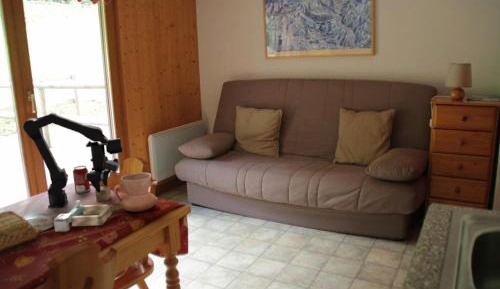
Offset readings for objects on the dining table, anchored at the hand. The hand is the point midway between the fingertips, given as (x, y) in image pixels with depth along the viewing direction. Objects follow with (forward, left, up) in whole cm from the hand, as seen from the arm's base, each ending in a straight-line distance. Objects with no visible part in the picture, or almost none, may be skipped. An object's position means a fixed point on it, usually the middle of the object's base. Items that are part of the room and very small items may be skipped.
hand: (102, 189), depth 190 cm
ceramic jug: (+19, -14, -5) cm, 24 cm away
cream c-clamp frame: (+3, -24, -5) cm, 25 cm away
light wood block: (0, 0, -5) cm, 5 cm away
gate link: (-4, -24, -4) cm, 24 cm away
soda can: (-14, +12, -5) cm, 19 cm away
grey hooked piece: (-4, -25, -5) cm, 26 cm away
